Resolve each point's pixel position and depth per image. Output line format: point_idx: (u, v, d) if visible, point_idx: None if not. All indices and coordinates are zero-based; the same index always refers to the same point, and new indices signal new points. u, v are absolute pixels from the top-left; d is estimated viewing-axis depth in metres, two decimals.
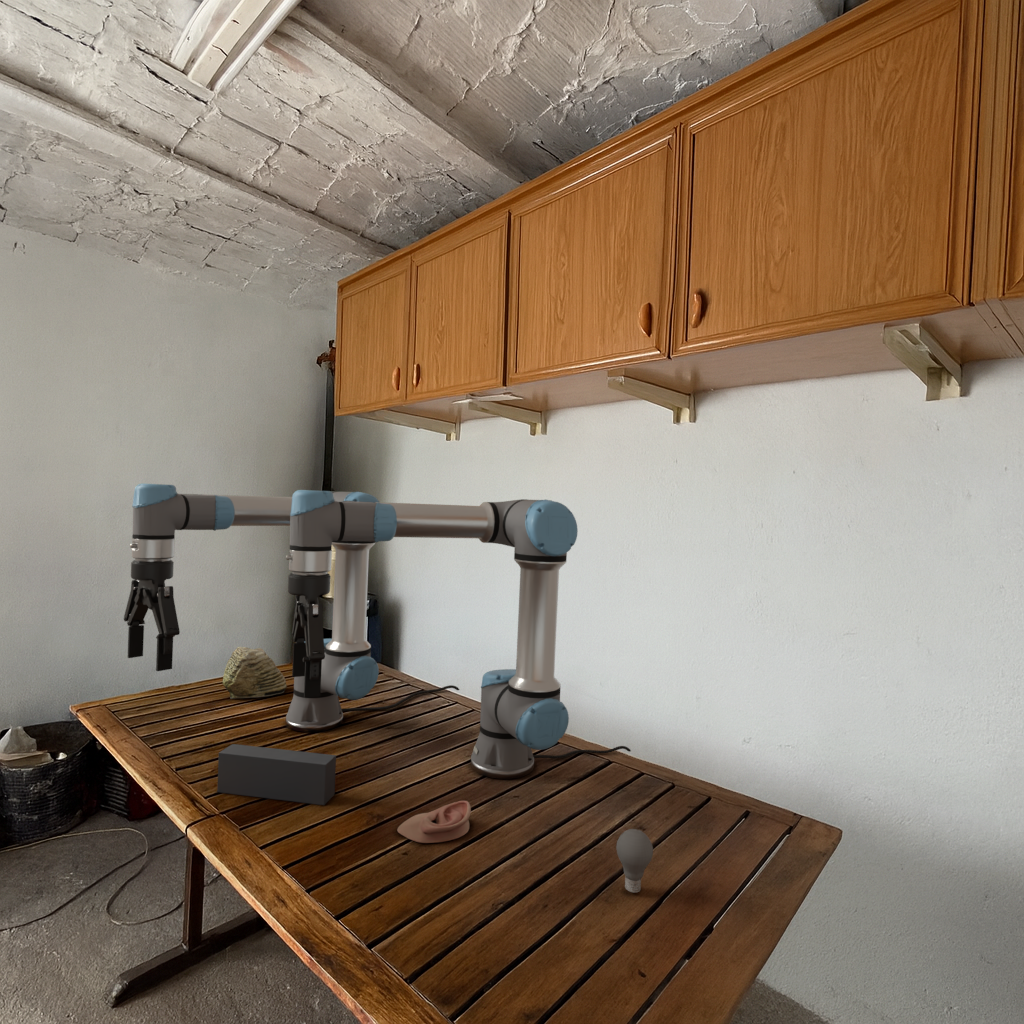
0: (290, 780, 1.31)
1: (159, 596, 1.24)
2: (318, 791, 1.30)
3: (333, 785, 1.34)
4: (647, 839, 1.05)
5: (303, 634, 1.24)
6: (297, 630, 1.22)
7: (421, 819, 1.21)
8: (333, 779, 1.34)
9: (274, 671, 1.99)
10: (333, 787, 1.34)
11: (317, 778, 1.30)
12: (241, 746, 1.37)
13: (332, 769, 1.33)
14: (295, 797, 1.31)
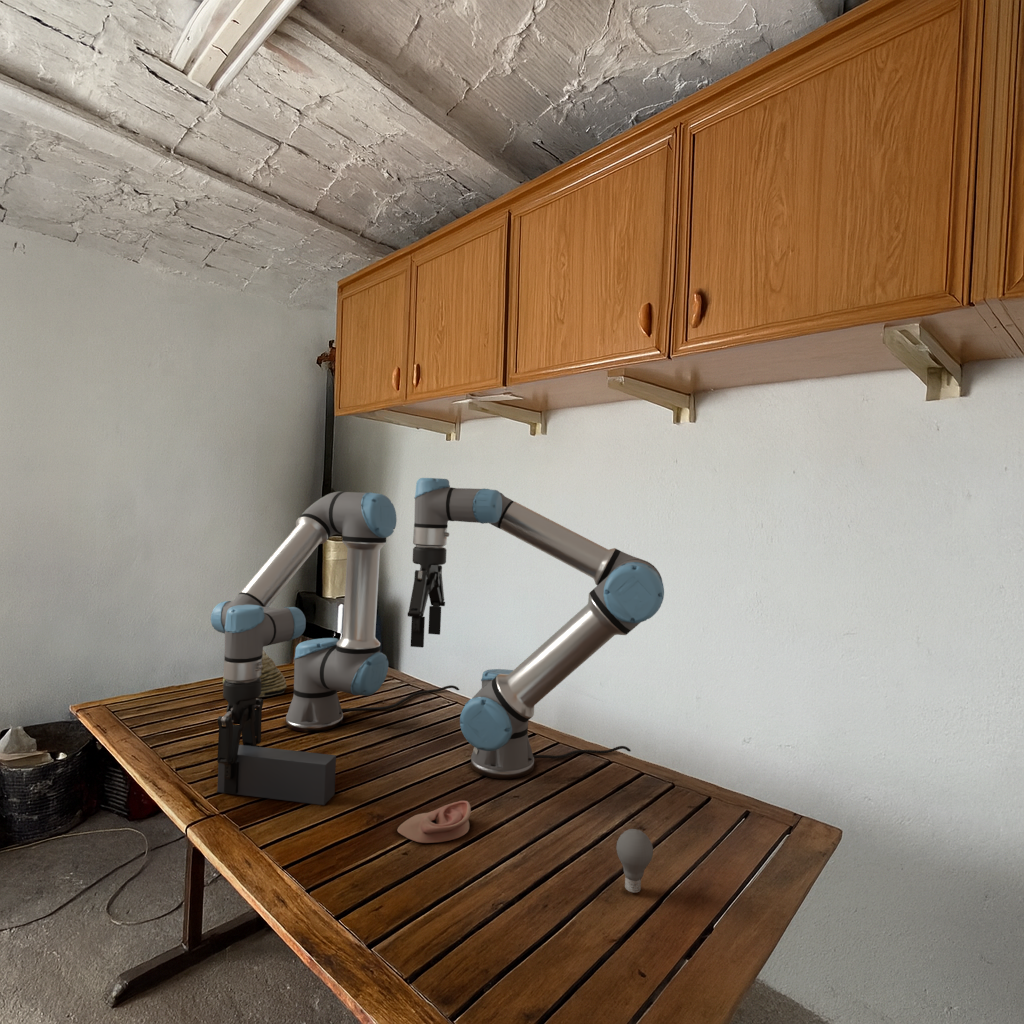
0: (290, 780, 1.31)
1: (260, 707, 1.41)
2: (318, 791, 1.30)
3: (333, 785, 1.34)
4: (647, 839, 1.05)
5: None
6: None
7: (421, 819, 1.21)
8: (333, 779, 1.34)
9: (274, 671, 1.99)
10: (333, 787, 1.34)
11: (317, 778, 1.30)
12: (241, 746, 1.37)
13: (332, 769, 1.33)
14: (295, 797, 1.31)
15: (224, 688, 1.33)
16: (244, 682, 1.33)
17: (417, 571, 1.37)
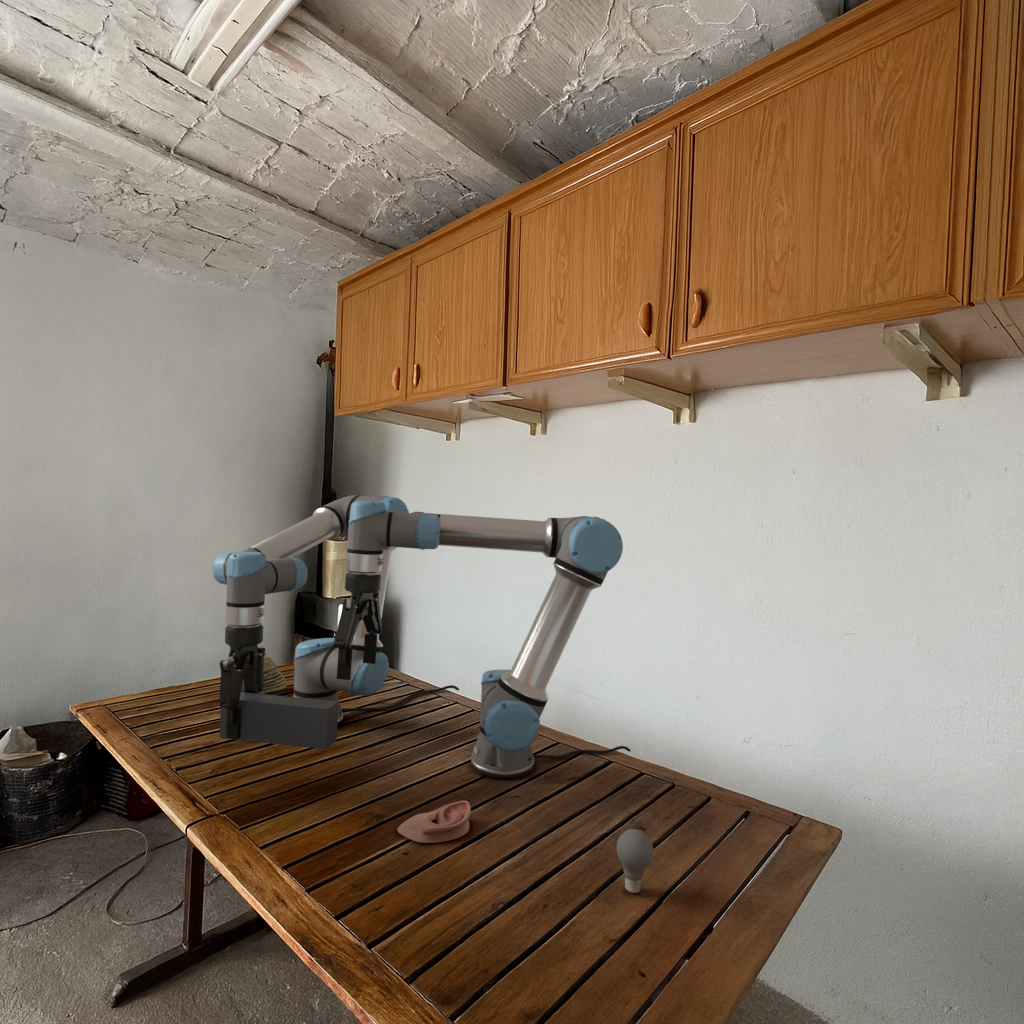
0: (292, 725, 1.31)
1: (262, 656, 1.41)
2: (320, 736, 1.30)
3: (335, 731, 1.34)
4: (647, 839, 1.05)
5: None
6: None
7: (421, 819, 1.21)
8: (335, 725, 1.34)
9: (274, 671, 1.99)
10: (335, 733, 1.34)
11: (319, 722, 1.30)
12: (243, 693, 1.37)
13: (334, 715, 1.33)
14: (297, 742, 1.31)
15: (226, 633, 1.33)
16: (246, 627, 1.32)
17: (346, 599, 1.30)
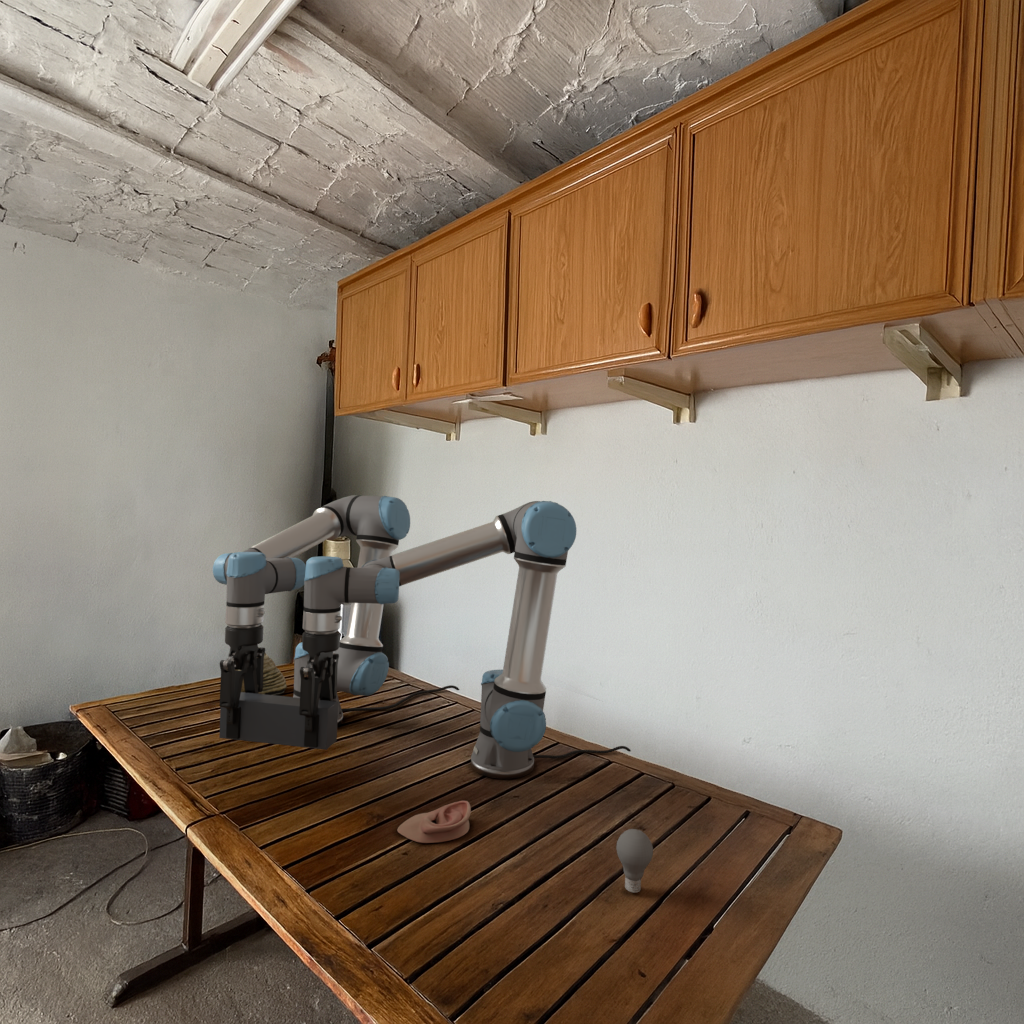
0: (292, 725, 1.31)
1: (262, 656, 1.41)
2: (320, 736, 1.30)
3: (335, 731, 1.34)
4: (647, 839, 1.05)
5: None
6: None
7: (421, 819, 1.21)
8: (335, 725, 1.34)
9: (274, 671, 1.99)
10: (335, 733, 1.34)
11: (319, 722, 1.30)
12: (243, 693, 1.37)
13: (334, 715, 1.33)
14: (297, 742, 1.31)
15: (226, 633, 1.33)
16: (246, 627, 1.32)
17: (302, 670, 1.26)
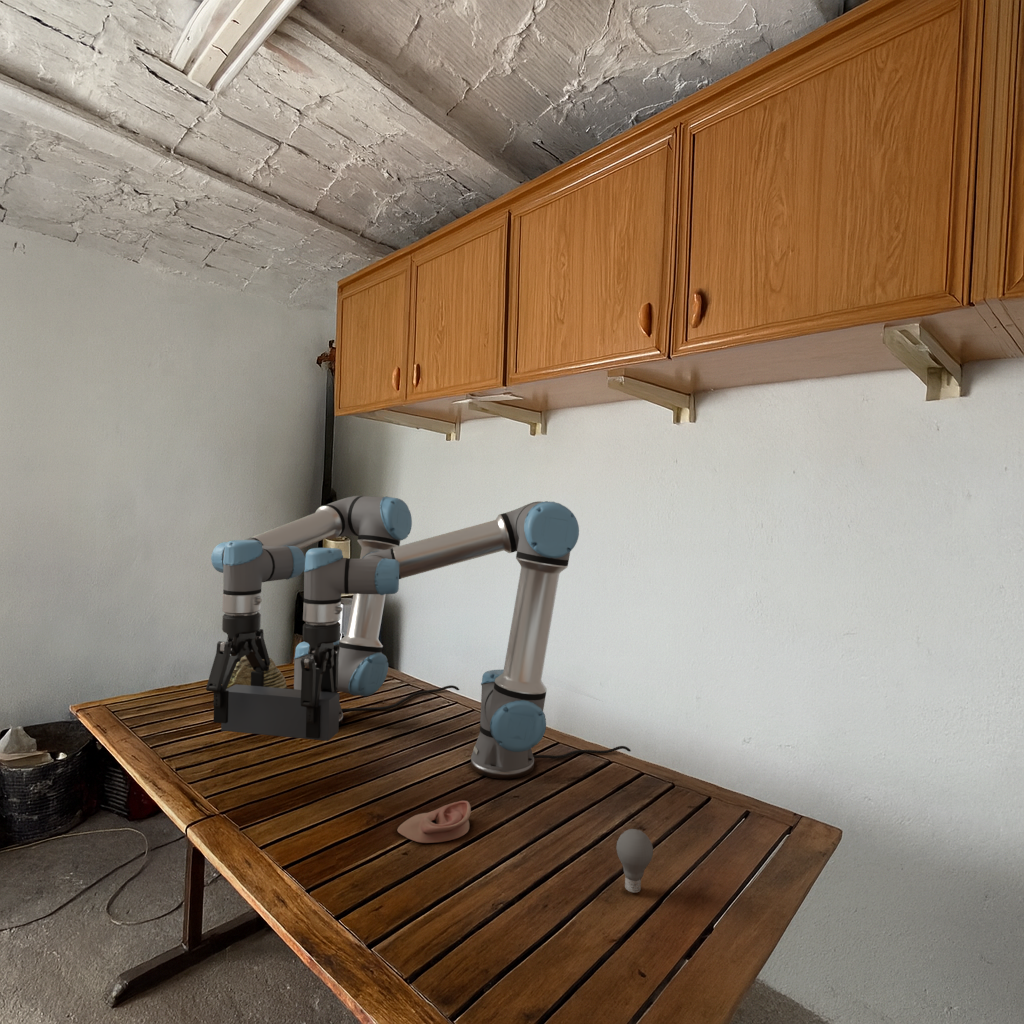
0: (293, 716, 1.31)
1: (262, 637, 1.42)
2: (321, 727, 1.30)
3: (337, 722, 1.34)
4: (647, 839, 1.05)
5: None
6: None
7: (421, 819, 1.21)
8: (337, 716, 1.34)
9: (274, 671, 1.99)
10: (336, 724, 1.34)
11: (320, 714, 1.30)
12: (244, 686, 1.37)
13: (336, 706, 1.33)
14: (299, 734, 1.31)
15: (223, 621, 1.33)
16: (243, 615, 1.33)
17: (303, 661, 1.26)
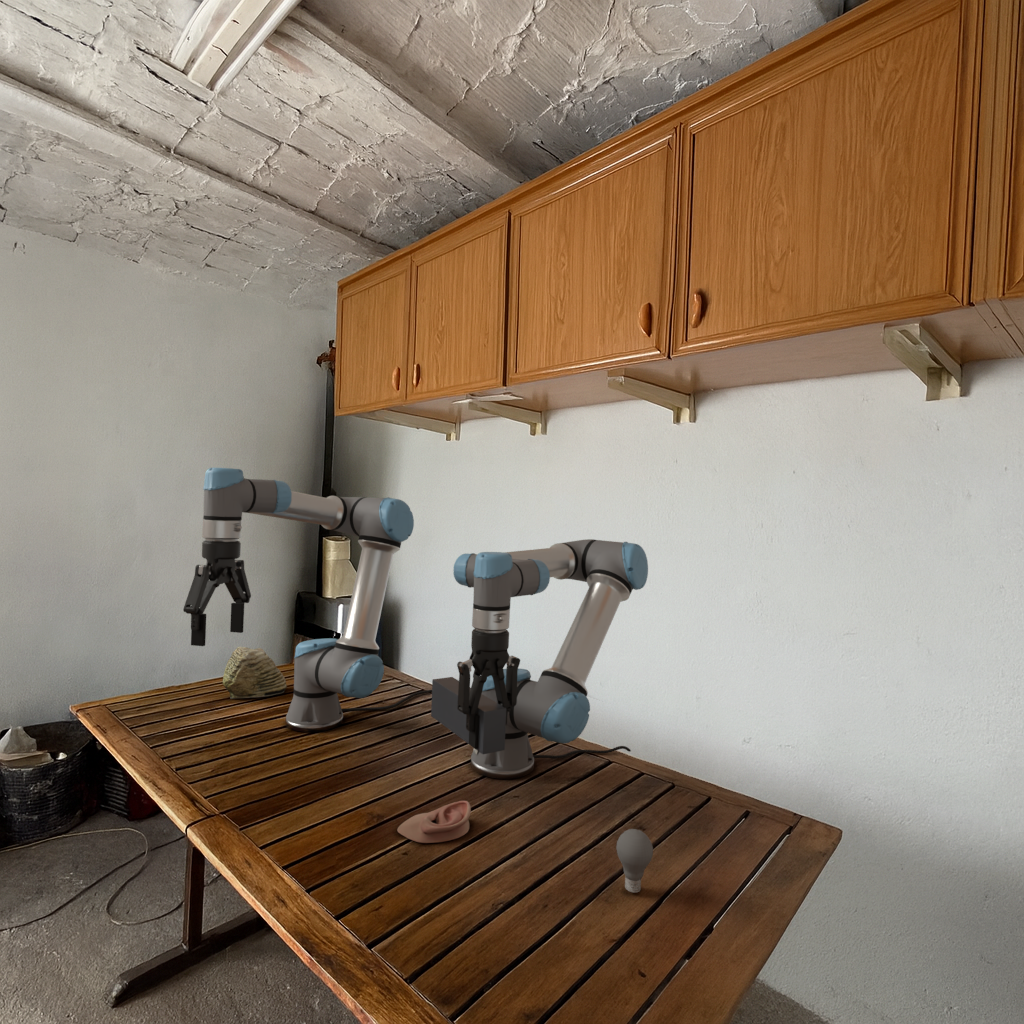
0: (465, 720, 1.30)
1: (242, 568, 1.42)
2: (479, 738, 1.25)
3: (501, 739, 1.26)
4: (647, 839, 1.05)
5: None
6: None
7: (421, 819, 1.21)
8: (501, 732, 1.26)
9: (274, 671, 1.99)
10: (500, 741, 1.26)
11: (479, 724, 1.25)
12: (454, 680, 1.44)
13: (499, 721, 1.25)
14: (467, 739, 1.29)
15: (203, 547, 1.33)
16: (223, 541, 1.33)
17: (458, 664, 1.25)
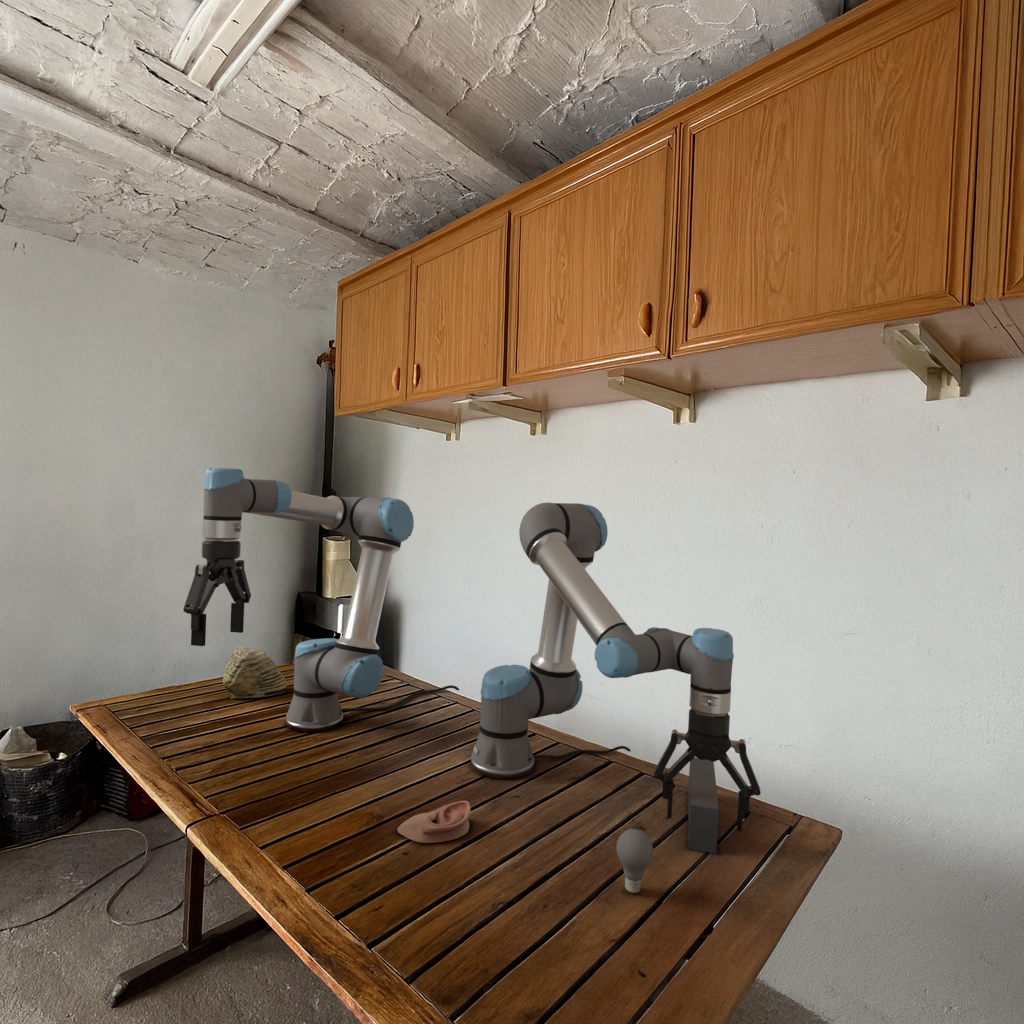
0: (689, 807, 1.27)
1: (242, 568, 1.42)
2: None
3: (712, 841, 1.18)
4: (647, 839, 1.05)
5: None
6: None
7: (421, 819, 1.21)
8: (712, 834, 1.18)
9: (274, 671, 1.99)
10: (711, 842, 1.19)
11: None
12: (709, 763, 1.39)
13: (709, 820, 1.19)
14: None
15: (203, 547, 1.33)
16: (223, 541, 1.33)
17: (672, 731, 1.24)
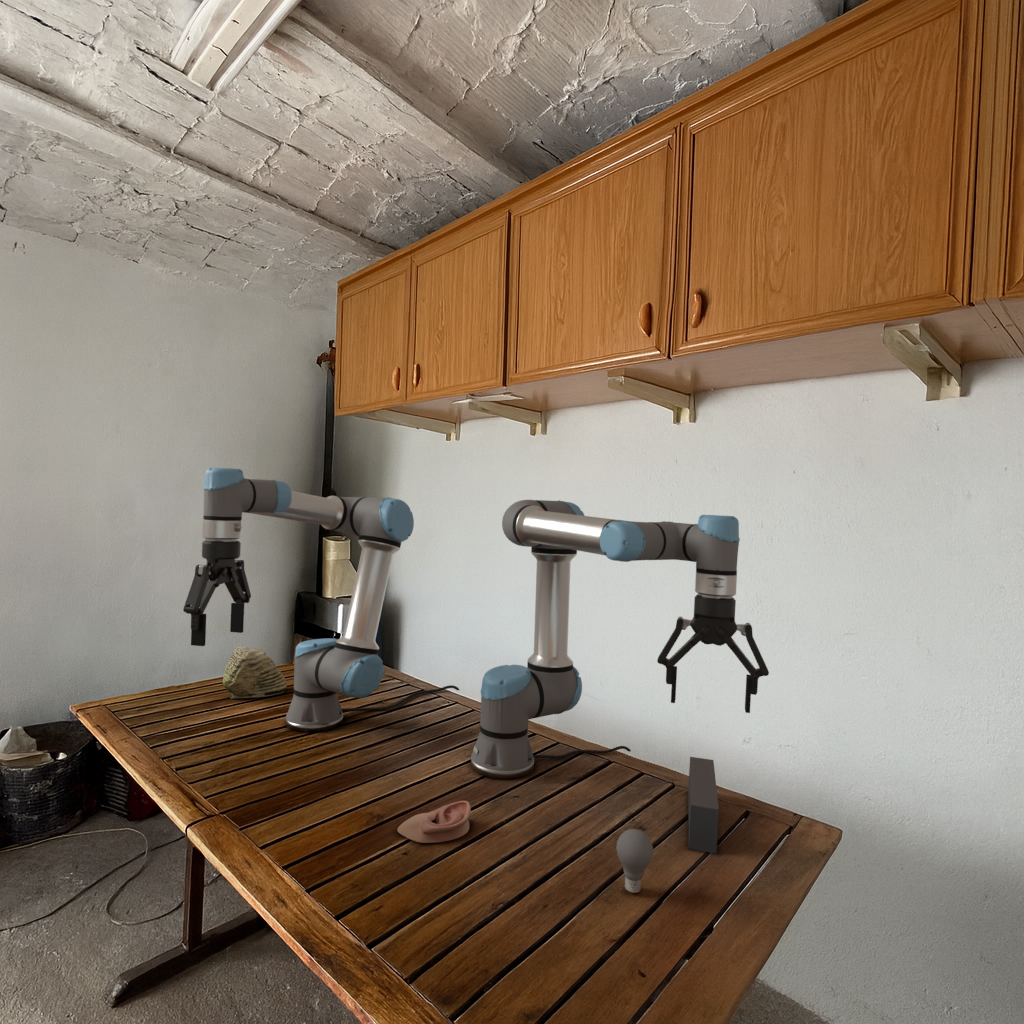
0: (689, 807, 1.27)
1: (242, 568, 1.42)
2: None
3: (712, 841, 1.18)
4: (647, 839, 1.05)
5: None
6: None
7: (421, 819, 1.21)
8: (712, 834, 1.18)
9: (274, 671, 1.99)
10: (711, 842, 1.19)
11: None
12: (709, 763, 1.39)
13: (709, 820, 1.19)
14: None
15: (203, 547, 1.33)
16: (223, 541, 1.33)
17: (678, 617, 1.24)
